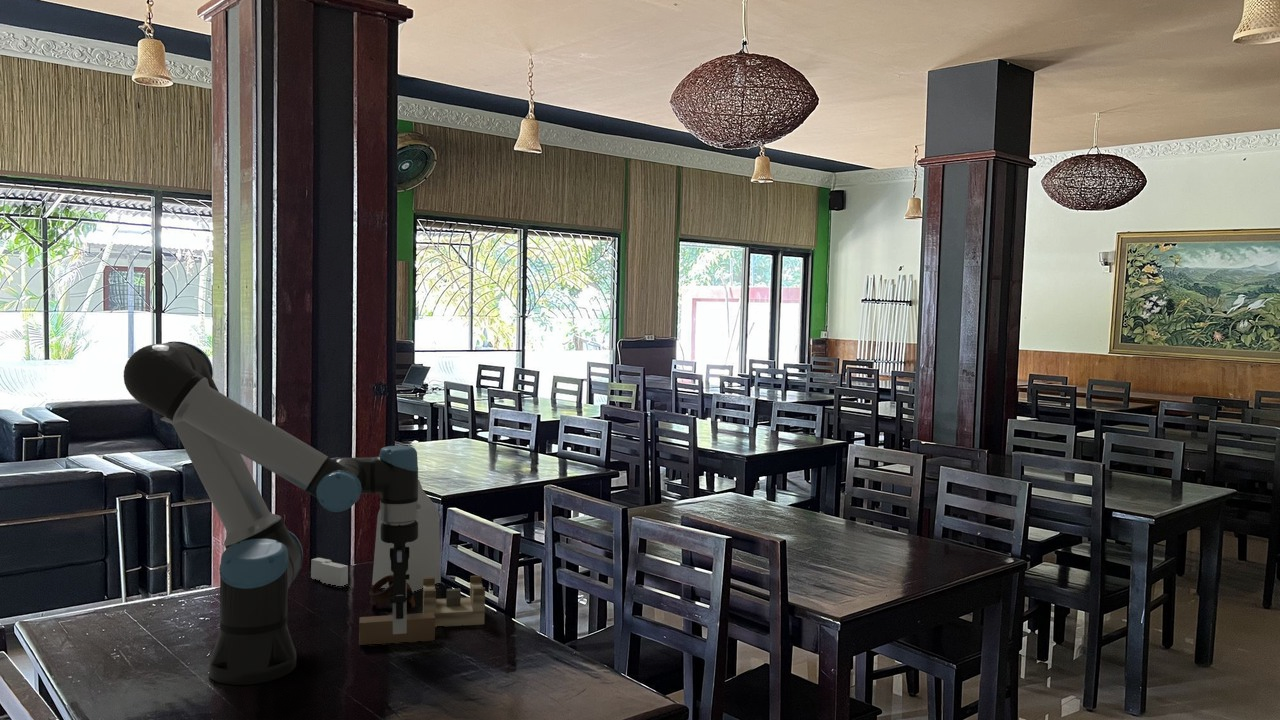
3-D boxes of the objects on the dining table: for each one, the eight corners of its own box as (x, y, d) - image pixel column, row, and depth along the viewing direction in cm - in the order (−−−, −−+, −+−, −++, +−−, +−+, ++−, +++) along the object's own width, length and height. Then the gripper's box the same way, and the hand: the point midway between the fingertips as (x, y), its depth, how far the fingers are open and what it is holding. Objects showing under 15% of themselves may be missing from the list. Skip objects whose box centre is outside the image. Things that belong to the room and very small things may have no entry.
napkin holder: (356, 589, 223) (357, 566, 222) (307, 593, 218) (307, 570, 218) (350, 572, 236) (350, 551, 236) (303, 576, 232) (304, 554, 232)
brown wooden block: (434, 641, 189) (435, 617, 189) (359, 647, 185) (359, 623, 184) (433, 635, 193) (433, 612, 192) (359, 640, 188) (359, 617, 188)
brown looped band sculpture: (416, 614, 206) (398, 586, 203) (378, 631, 206) (360, 603, 204) (422, 585, 217) (405, 558, 215) (386, 601, 218) (369, 574, 215)
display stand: (484, 624, 200) (485, 588, 199) (423, 627, 196) (424, 591, 196) (480, 609, 209) (481, 575, 209) (422, 612, 206) (423, 577, 206)
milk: (407, 575, 234) (409, 475, 233) (440, 583, 229) (443, 480, 227) (371, 586, 224) (373, 481, 223) (405, 594, 218) (407, 487, 217)
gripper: (418, 534, 177) (419, 641, 178) (417, 507, 201) (417, 601, 202) (378, 536, 175) (379, 644, 176) (382, 509, 199) (382, 604, 200)
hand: (399, 622), depth 189 cm, fingers open, 13 cm apart
